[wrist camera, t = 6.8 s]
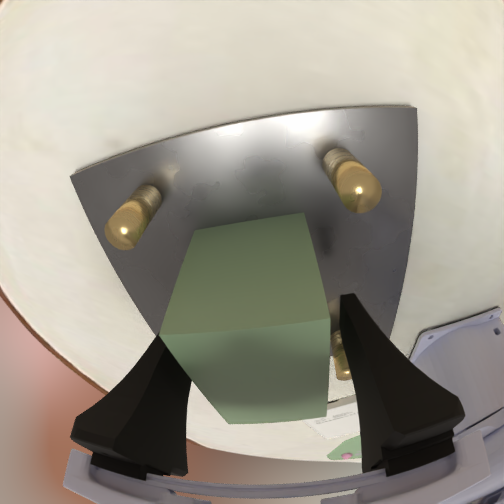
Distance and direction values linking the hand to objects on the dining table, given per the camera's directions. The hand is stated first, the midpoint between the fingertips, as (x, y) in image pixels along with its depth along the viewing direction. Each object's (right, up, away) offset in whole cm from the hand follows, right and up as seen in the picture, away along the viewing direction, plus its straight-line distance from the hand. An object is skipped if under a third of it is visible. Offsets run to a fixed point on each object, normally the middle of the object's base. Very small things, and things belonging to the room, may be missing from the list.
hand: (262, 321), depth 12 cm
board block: (0, +1, +2) cm, 3 cm away
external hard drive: (+11, -16, +16) cm, 25 cm away
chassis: (0, +2, +3) cm, 3 cm away
